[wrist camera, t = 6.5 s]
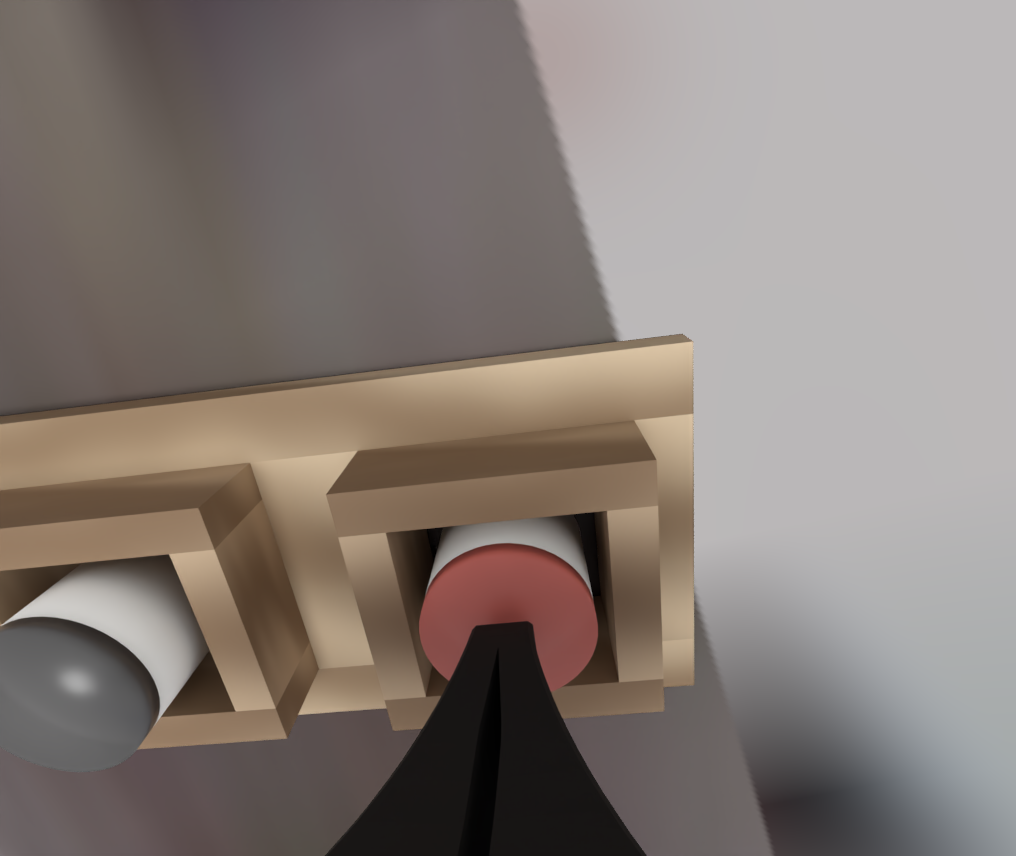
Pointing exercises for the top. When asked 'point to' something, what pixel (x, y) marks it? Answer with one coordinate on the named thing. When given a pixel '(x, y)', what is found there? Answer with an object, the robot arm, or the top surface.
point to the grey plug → (96, 663)
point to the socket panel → (368, 521)
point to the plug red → (512, 592)
